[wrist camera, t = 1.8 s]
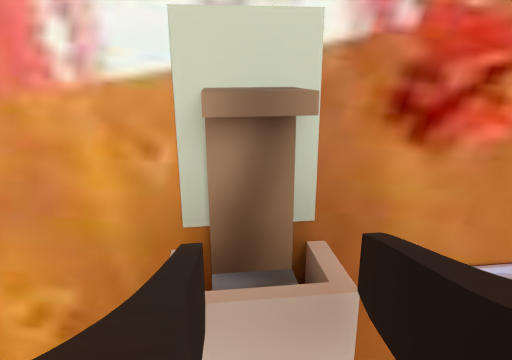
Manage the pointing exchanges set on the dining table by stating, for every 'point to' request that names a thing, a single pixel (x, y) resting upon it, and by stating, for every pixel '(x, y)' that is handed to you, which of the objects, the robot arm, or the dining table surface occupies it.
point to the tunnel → (286, 316)
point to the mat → (242, 84)
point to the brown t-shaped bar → (252, 182)
